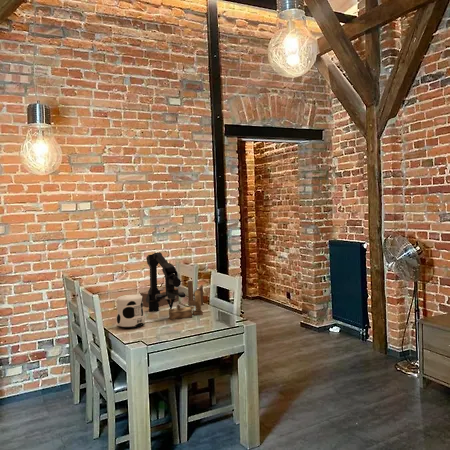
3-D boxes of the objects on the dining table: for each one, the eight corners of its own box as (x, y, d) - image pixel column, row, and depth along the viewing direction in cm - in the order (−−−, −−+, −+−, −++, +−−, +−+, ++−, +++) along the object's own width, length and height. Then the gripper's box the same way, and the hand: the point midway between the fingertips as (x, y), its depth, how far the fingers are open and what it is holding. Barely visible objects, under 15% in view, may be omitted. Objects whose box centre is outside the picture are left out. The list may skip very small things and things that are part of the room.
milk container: (120, 322, 282) (119, 294, 282) (148, 321, 282) (146, 293, 281) (113, 330, 265) (111, 300, 264) (142, 329, 265) (140, 299, 264)
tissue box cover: (165, 299, 348) (164, 286, 348) (178, 301, 340) (178, 288, 339) (140, 306, 328) (140, 293, 327) (154, 308, 319) (154, 294, 319)
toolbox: (170, 319, 285) (170, 313, 284) (168, 316, 294) (168, 309, 294) (204, 316, 290) (203, 309, 290) (201, 312, 300) (200, 306, 299)
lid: (170, 312, 284) (170, 307, 284) (168, 310, 292) (168, 305, 292) (196, 310, 289) (195, 305, 288) (193, 307, 296) (193, 302, 296)
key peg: (196, 312, 301) (195, 291, 301) (195, 311, 305) (194, 290, 304) (201, 311, 302) (200, 291, 301) (200, 310, 306) (199, 290, 305)
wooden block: (203, 305, 323) (202, 280, 322) (189, 306, 320) (187, 281, 319) (202, 303, 326) (201, 279, 325) (188, 305, 324) (187, 280, 323)
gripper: (156, 288, 277) (157, 313, 278) (186, 285, 282) (187, 310, 282) (154, 285, 288) (155, 309, 289) (183, 283, 293) (184, 306, 293)
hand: (170, 308), depth 288 cm, fingers closed
